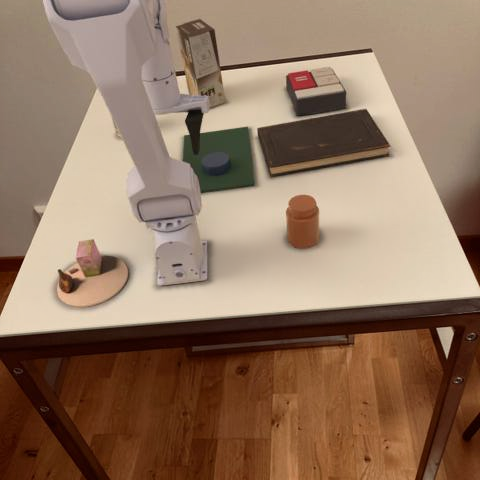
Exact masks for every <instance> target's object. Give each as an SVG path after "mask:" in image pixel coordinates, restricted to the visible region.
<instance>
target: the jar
mask: <svg viewBox="0 0 480 480" xmlns="http://www.w3.org/2000/svg"><path fill="white" fill-rule="evenodd" d="M285 219H286V221H285V222H286V235H287V237H286V238H287V242H288V243H289V245H290V246H291V247H294V248H297V249H308V248H312V247H314V246H316V245H317V244H318V243H319V241H320V208H319V206H318V205H317V200H316V199H315V198H314V196H312V195H308V194H297V195H295V196H292V197H291V198H290V199H289V201H288V207H287V208H286V210H285Z"/></svg>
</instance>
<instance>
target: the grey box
mask: <svg viewBox="0 0 480 480" xmlns="http://www.w3.org/2000/svg"><path fill="white" fill-rule="evenodd" d="M285 83H286V84H285V85H286V91H287V92H288V96H289V98H290V101H291V102H292V107H293V110H294V111H293V112H294V113H295V116H297V117H300V116H306V115H313V114H319V113H324V112H331V111H337V110H344V109H346V108H347V90H346V89H345V87H344V85H343V84H342V82H341V81H340V79H339V77H338V76H337V74H336V72H335V71H334V69H333V67H331V66H324V67H319V68H312V69H310V71H309V70H307V69H306V70H300V71H293V72H289V73H287V75H285Z"/></svg>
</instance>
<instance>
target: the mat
mask: <svg viewBox="0 0 480 480" xmlns="http://www.w3.org/2000/svg"><path fill="white" fill-rule="evenodd" d="M249 133H250V132H249V126H241V127H235V128H228V129H220V130H213V131H206V132H200V150H199V153H198V155H194V153H193V150H192V143H191V138H190V135H189V134H185V135H183V150H182V161H183V162H186V163H189V164H190V166H191V168H192V169H193V171H194V173H195V174H196V175H197V177H198V181H199V186H200V192H201V194H202V193H203V194H204V193H209V192H218V191H219V192H220V191H225V190H234V189H239V188H240V189H241V188H249V187H254V186H255V178H254V169H253V160H252V152H251V151H252V150H251V142H250V134H249ZM213 152H224V153H226V154H228V155H229V158H230V162H231V168H230V169H229V170H228V171H227V172H226V173H224V174H221V175H217V176H211V175H207V174H205V173H204V171H203V169H202V162H201V161H202V158H203V157H204V156H206V155H207V154H210V153H213Z"/></svg>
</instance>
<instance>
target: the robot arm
mask: <svg viewBox="0 0 480 480" xmlns="http://www.w3.org/2000/svg"><path fill="white" fill-rule="evenodd" d="M42 4H43V6H44V11H45V15H46V18H47V21H48V23H49V25H50V27H51V29H52V31H53V33H54V34H55V37H56V39H57V41H58V42H59V45H60V47H61V48H62V50H63V52H64V54H65V55H66V56H67V58H68V60H69V62H70V64H71V65H72V66H73V67H76V68H77V69H79V70H82V71H84V72H85V73H87V74H89V75H90V77H91V79H92V81H93V83H94V84H95V87H96V88H97V90H98V92H99V94H100V96H101V98H102V100H103V102H104V104H105V106H106V108H107V110H108V112H109V114H110V117H111V120H112V119H113V120H112V122H113V121H114V123H115V125H116V127H117V129H118V132H119V134H120V136H121V137H120V136H119V137H120V138H121V140H122V142H123V144H124V146H125V148H126V151H127V153H128V155H129V157H130V159H131V161H132V163H133V165H134V166H133V167H132V168H131V169H130V170H129V171H128V172H127V177H126V185H125V186H126V197H127V199H128V201H129V205H130V210H131V213H132V215H133V217H134V218H135V219H136V220H137V222H139V223H144V224H145V227H146V229H147V230H148V229H150V233H151V236H152V238H153V241H154V259H155V262H156V264H157V265H156V266H157V268H158V269H157V278H156V284H157V286H160V287H161V286H168V285H170V286H171V285H176V284H177V285H178V284H186V283H187V284H188V283H194V282H203V281H207V279H208V241H207V240H202V238H201V232H200V229H199V225H198V220H197V216H200V214H201V212H202V211H203V202H202V193H201V192H200V186H199V181H198V177H197V175H196V174H195V173H194V171H193V169H192V168H191V166H190V164H189V163H186V162H183V160H180V159H177V158H173V157H171V156H170V154H169V151H168V149H167V145H166V143H165V140H164V137H163V134H162V132H161V129H160V126H159V123H158V119H157V117H156V116H164V115H169V114H180V113H187V115H186V117H185V119H184V124H185V126H186V128H187V131H188V135H190V138H191V143H192V150H193V153H194V155H198V153H199V150H200V133H201V129H202V124H203V123H202V122H203V119H204V115H205V114H208V113H209V111H210V108H211V107H210V104H209V98H208V96H196V95H189V94H186V93H181V92H180V88H179V83H178V82H179V81H178V78H177V73H176V69H175V64H174V59H173V54H172V50H171V45H170V40H169V39H170V32H169V31H170V30H169V26H168V14H167V7H166V2H165V0H42ZM114 123H113V124H114Z"/></svg>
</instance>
